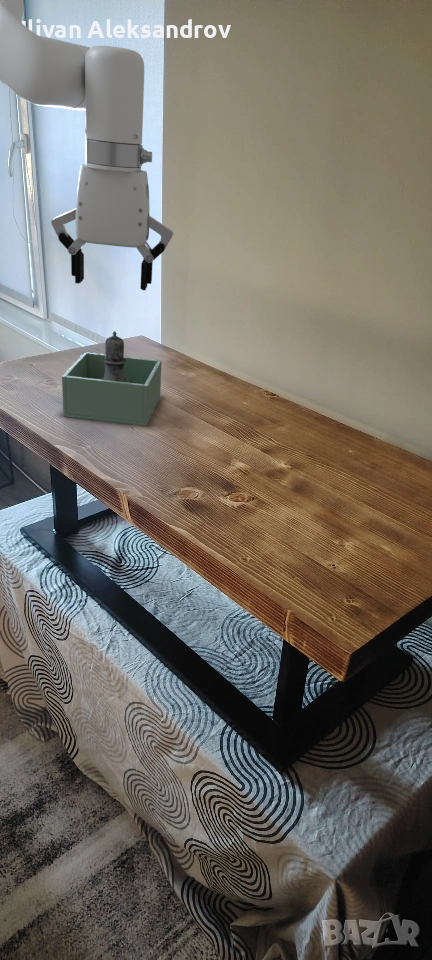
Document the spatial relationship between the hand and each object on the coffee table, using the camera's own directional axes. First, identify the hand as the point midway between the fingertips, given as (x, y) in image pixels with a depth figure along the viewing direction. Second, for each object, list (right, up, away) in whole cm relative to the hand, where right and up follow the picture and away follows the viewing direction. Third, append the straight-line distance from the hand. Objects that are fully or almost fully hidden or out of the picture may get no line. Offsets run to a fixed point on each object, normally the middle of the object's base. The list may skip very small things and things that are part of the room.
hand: (111, 284), depth 94 cm
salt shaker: (-1, -17, +9) cm, 19 cm away
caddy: (-1, -17, +9) cm, 20 cm away
